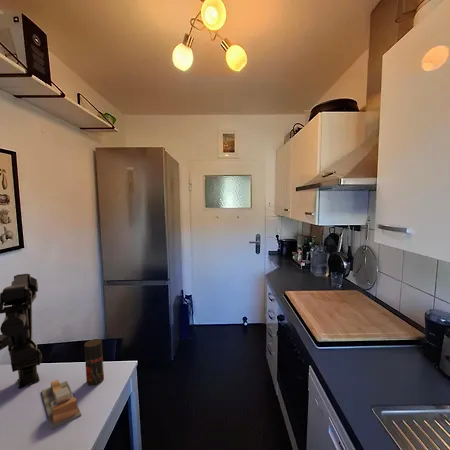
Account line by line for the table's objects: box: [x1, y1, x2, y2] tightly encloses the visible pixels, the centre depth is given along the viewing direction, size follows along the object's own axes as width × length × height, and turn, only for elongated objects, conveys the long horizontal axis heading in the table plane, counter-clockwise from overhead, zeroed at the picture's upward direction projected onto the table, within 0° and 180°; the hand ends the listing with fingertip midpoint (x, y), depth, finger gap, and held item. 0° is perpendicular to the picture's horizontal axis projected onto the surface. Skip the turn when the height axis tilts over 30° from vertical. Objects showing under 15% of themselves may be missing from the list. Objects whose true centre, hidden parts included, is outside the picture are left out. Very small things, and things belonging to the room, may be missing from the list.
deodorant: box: [83, 338, 105, 387], centre depth 102 cm, size 6×6×15 cm
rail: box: [41, 379, 82, 430], centre depth 91 cm, size 22×8×5 cm, turn 41°
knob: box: [51, 387, 75, 407], centre depth 87 cm, size 4×6×6 cm, turn 131°
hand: (21, 368), depth 92 cm, fingers closed
